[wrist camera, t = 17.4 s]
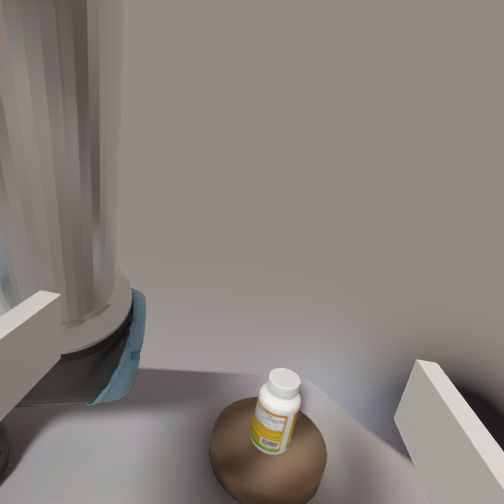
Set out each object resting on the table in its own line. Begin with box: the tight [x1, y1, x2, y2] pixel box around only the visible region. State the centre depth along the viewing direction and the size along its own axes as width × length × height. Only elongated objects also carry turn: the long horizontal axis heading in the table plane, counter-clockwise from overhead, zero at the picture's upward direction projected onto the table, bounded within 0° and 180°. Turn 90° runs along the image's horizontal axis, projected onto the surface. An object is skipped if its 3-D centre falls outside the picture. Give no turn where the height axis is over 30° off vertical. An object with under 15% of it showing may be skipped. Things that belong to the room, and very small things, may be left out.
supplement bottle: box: [250, 368, 301, 455], centre depth 45 cm, size 5×5×10 cm
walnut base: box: [210, 397, 327, 504], centre depth 47 cm, size 15×15×3 cm
